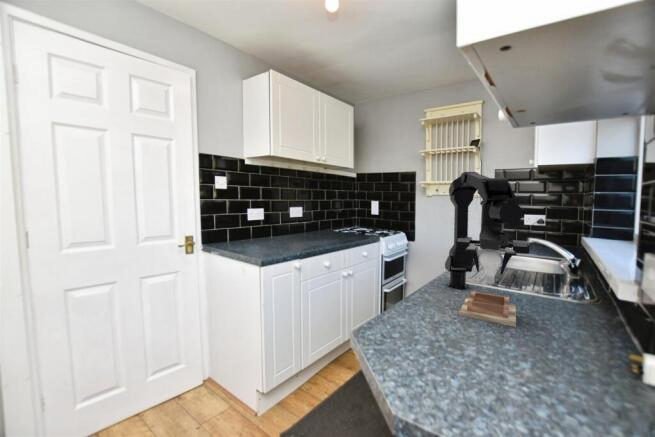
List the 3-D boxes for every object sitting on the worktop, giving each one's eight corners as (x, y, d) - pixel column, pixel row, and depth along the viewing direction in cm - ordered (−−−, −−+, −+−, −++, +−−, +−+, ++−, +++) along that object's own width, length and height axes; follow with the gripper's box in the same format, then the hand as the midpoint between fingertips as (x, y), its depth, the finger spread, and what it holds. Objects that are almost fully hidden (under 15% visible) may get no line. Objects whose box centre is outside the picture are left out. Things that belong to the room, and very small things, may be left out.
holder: (465, 301, 99) (466, 288, 98) (515, 309, 91) (516, 296, 91) (459, 315, 87) (459, 301, 87) (515, 326, 79) (516, 311, 79)
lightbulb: (497, 282, 91) (499, 246, 90) (504, 288, 85) (506, 250, 84) (475, 280, 92) (476, 245, 91) (480, 286, 86) (481, 249, 85)
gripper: (453, 221, 85) (451, 274, 86) (532, 225, 75) (528, 285, 76) (459, 218, 94) (457, 266, 96) (530, 221, 85) (526, 275, 86)
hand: (489, 273), depth 88 cm, fingers closed on lightbulb, 6 cm apart
